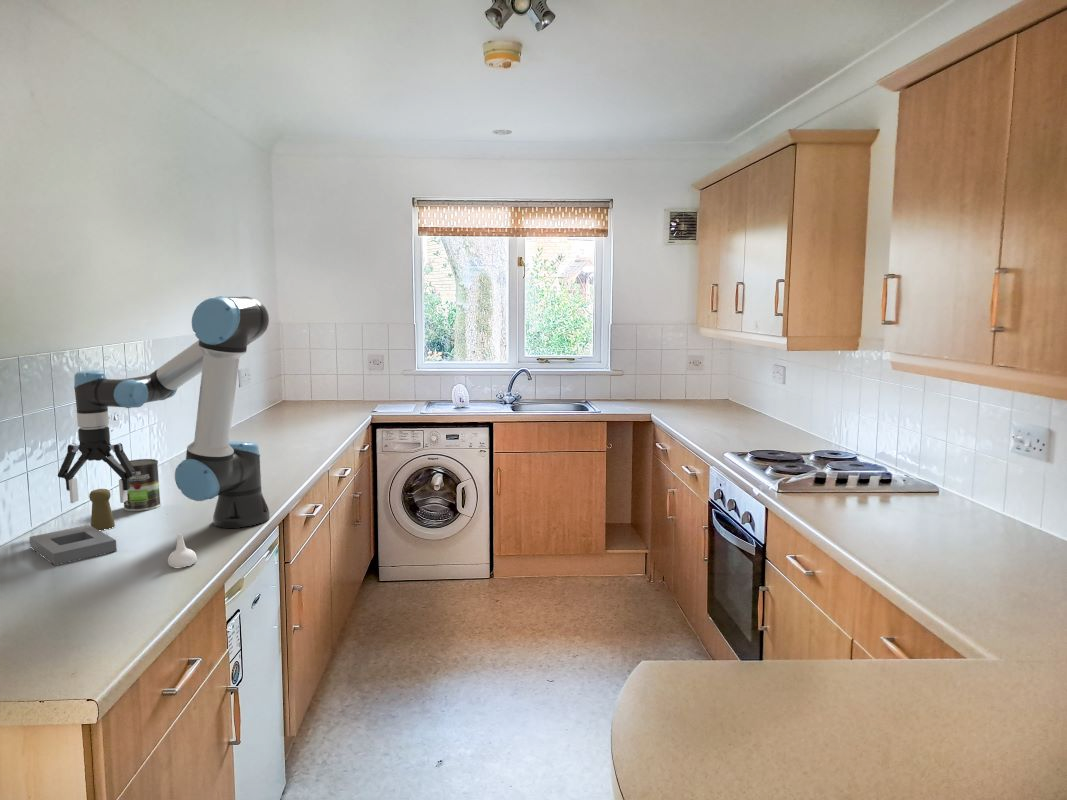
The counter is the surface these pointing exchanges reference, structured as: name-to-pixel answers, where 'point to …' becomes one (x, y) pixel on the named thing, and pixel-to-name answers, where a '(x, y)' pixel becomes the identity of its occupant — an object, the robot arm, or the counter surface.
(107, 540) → the dock board
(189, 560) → the garlic bulb
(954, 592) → the counter surface
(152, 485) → the coffee can
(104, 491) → the cork
